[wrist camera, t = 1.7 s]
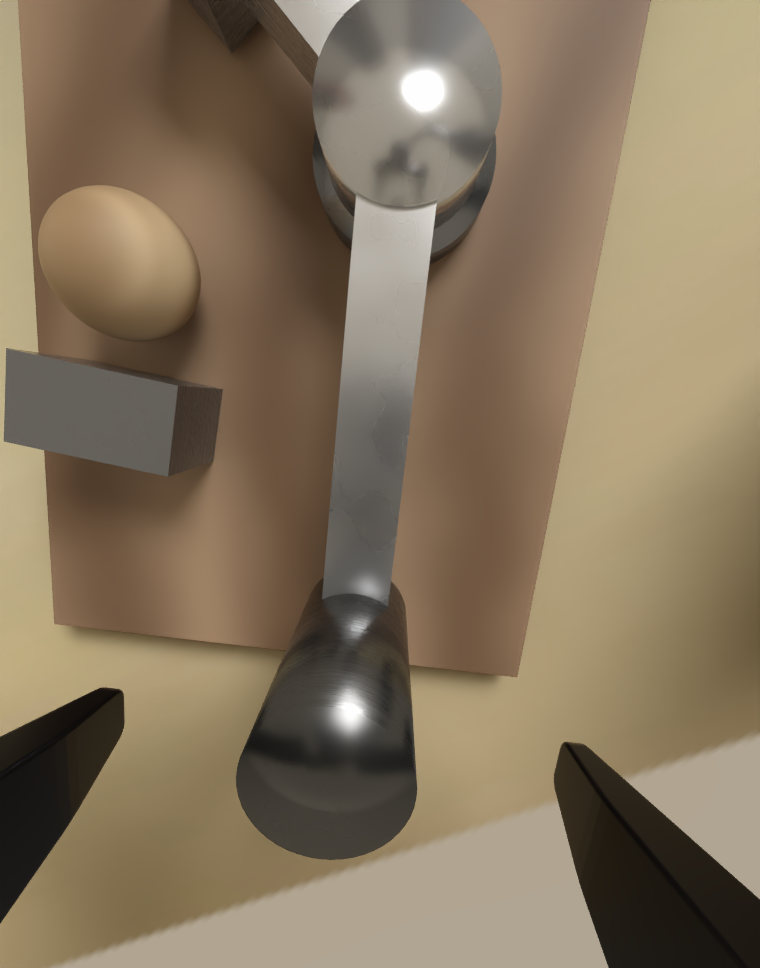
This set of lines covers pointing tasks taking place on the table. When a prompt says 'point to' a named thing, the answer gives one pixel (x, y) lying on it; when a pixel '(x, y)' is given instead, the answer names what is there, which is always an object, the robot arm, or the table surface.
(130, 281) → the tan ball
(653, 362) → the table surface
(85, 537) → the board
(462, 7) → the lever
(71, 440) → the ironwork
